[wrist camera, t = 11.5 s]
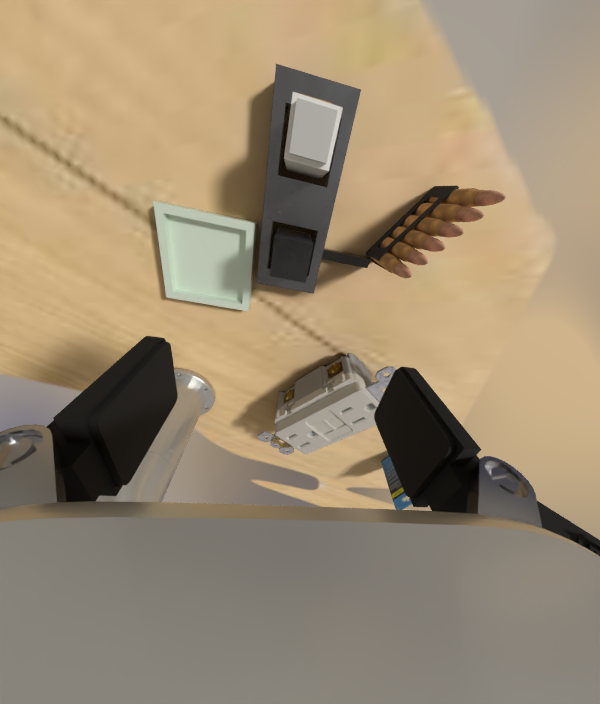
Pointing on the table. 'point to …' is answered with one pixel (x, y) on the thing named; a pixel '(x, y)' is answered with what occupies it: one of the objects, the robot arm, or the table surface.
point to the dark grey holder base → (302, 190)
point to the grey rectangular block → (311, 135)
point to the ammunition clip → (429, 226)
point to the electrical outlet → (327, 406)
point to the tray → (206, 256)
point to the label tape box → (395, 485)
